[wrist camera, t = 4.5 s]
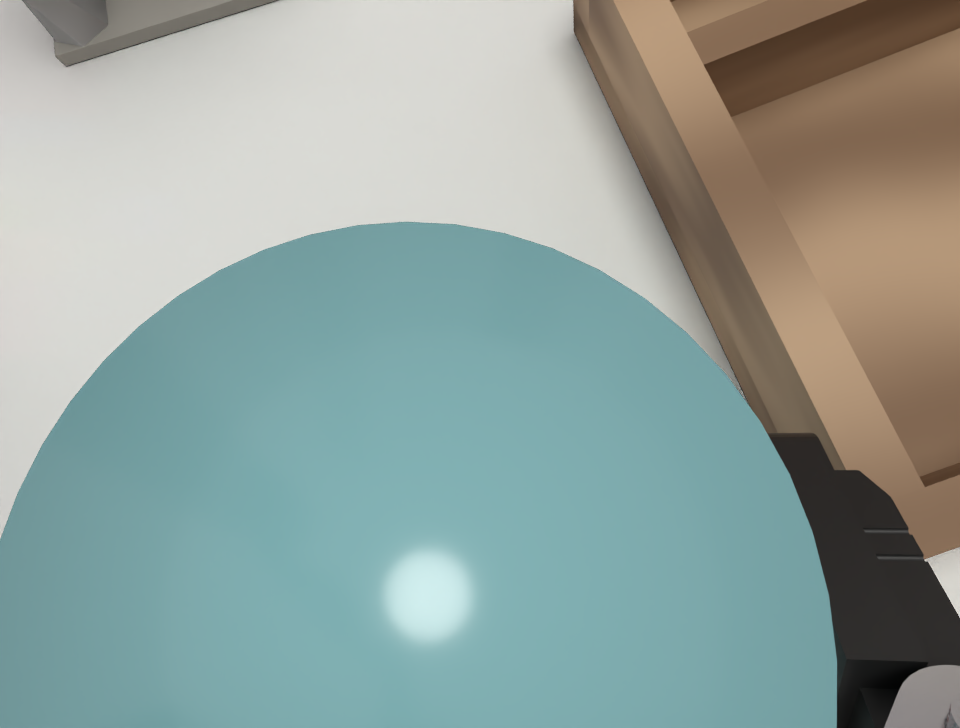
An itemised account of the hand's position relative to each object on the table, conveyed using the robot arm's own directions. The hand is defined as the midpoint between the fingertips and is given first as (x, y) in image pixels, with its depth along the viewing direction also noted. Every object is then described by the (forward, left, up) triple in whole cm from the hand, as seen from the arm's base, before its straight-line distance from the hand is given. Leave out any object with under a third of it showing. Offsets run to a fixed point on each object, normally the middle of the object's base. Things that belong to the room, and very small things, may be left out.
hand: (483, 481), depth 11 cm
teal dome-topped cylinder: (+1, 0, -5) cm, 6 cm away
